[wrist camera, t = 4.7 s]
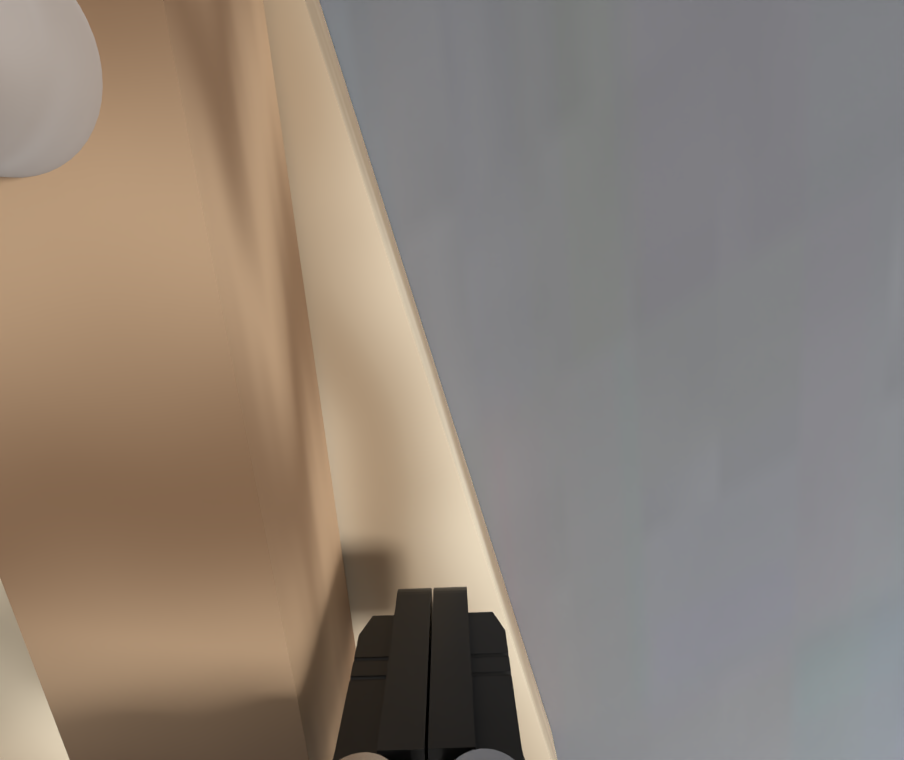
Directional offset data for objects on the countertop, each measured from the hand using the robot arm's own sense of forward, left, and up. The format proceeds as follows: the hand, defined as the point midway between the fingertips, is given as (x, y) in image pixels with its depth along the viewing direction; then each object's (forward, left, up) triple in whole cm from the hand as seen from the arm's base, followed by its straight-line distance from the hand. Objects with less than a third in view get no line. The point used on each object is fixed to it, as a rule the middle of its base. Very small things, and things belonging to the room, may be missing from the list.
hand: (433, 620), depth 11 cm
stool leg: (+3, -6, -1) cm, 6 cm away
